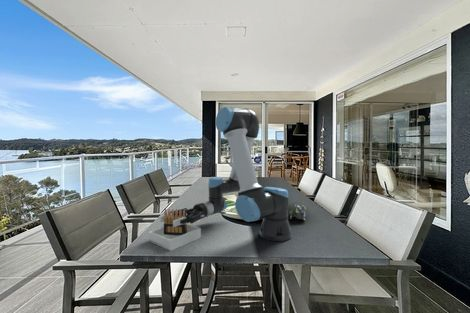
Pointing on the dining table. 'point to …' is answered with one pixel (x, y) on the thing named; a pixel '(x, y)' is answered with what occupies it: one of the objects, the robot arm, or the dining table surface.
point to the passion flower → (298, 211)
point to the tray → (174, 238)
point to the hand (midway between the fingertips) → (166, 221)
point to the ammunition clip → (169, 223)
